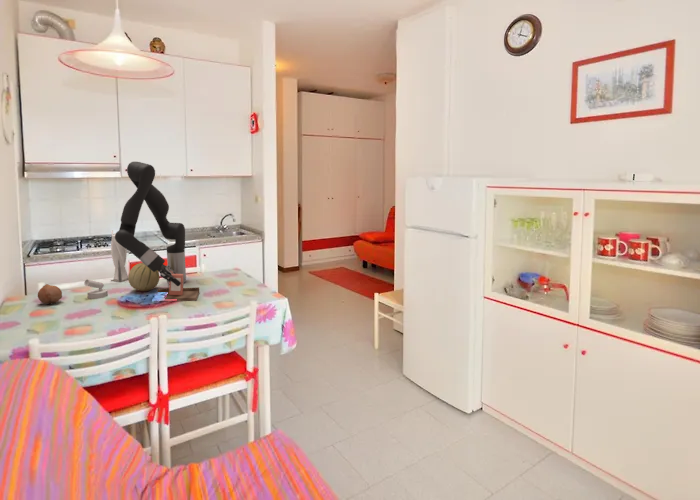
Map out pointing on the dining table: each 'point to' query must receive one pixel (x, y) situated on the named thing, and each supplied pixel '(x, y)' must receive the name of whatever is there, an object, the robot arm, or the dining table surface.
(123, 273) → the skyscraper
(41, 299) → the brown round lump
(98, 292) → the security camera
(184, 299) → the display ledge
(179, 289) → the picture frame
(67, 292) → the dining table surface
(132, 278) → the cantaloupe
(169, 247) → the robot arm
